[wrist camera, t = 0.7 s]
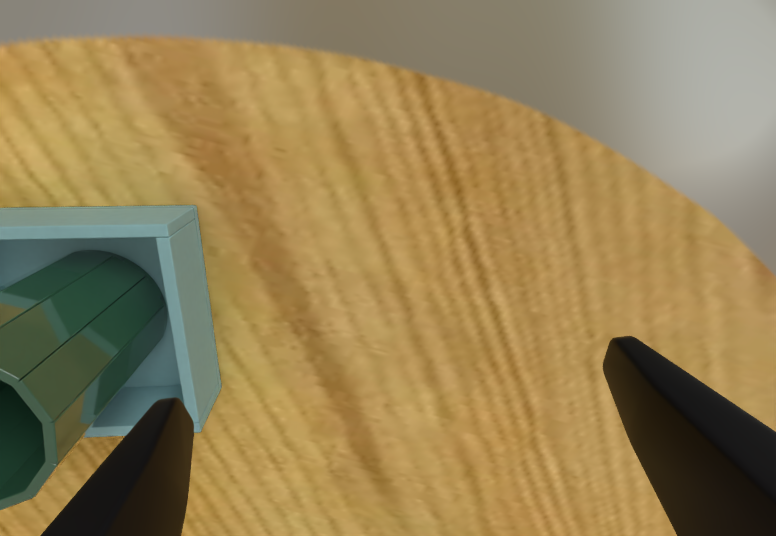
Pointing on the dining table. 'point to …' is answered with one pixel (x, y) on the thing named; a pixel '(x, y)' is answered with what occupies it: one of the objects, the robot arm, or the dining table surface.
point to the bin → (167, 268)
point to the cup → (67, 357)
